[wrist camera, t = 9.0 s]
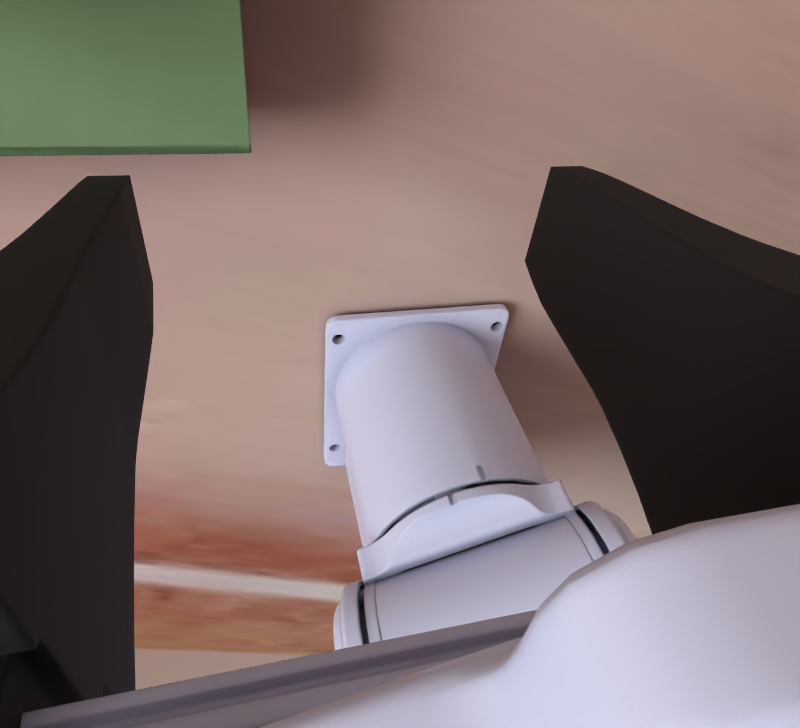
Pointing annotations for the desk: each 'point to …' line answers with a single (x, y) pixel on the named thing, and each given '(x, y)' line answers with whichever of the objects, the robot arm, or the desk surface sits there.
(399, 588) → the robot arm
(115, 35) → the book stack
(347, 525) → the desk surface
